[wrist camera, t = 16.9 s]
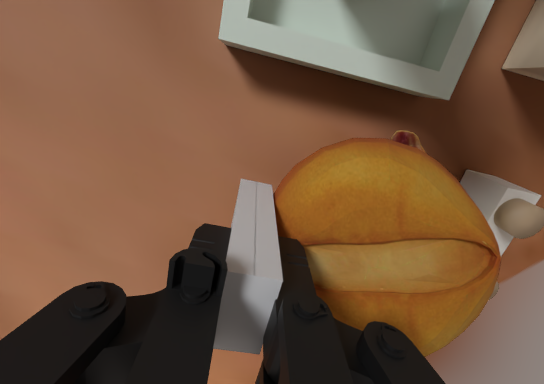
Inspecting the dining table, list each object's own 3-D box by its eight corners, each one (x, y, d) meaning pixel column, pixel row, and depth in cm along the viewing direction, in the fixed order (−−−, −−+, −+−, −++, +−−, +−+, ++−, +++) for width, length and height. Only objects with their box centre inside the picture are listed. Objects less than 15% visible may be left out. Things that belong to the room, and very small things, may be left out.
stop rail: (466, 169, 17) (525, 195, 13) (495, 175, 17) (561, 203, 13) (417, 261, 19) (455, 305, 15) (443, 266, 19) (485, 310, 16)
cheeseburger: (341, 306, 20) (369, 468, 11) (245, 200, 19) (181, 271, 10) (465, 225, 18) (650, 341, 8) (361, 99, 17) (430, 60, 7)
